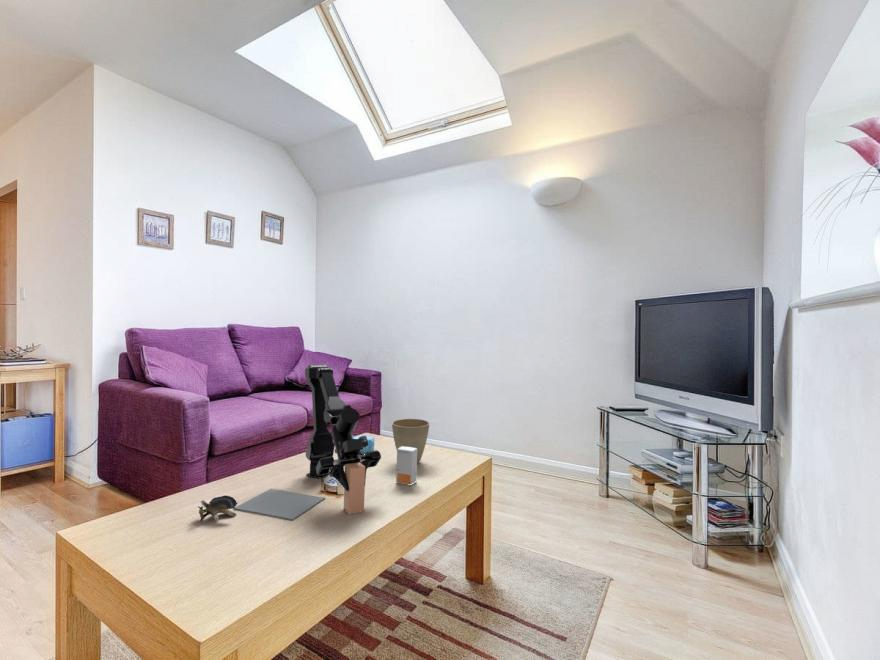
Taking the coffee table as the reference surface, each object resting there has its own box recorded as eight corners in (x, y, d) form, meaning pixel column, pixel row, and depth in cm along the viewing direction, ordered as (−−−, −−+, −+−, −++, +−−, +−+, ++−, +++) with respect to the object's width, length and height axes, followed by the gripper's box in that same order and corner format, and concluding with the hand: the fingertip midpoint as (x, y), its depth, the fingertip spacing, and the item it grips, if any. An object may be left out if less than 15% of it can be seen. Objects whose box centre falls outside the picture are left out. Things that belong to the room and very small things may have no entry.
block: (343, 508, 127) (344, 464, 127) (358, 505, 129) (359, 462, 129) (349, 514, 123) (350, 468, 123) (364, 511, 125) (365, 466, 125)
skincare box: (395, 483, 148) (396, 448, 148) (401, 479, 152) (402, 445, 152) (411, 486, 146) (412, 451, 146) (416, 482, 150) (417, 447, 150)
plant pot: (393, 456, 179) (394, 418, 179) (429, 457, 179) (430, 419, 178) (388, 468, 164) (389, 426, 164) (427, 469, 164) (428, 427, 164)
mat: (270, 489, 140) (270, 488, 140) (325, 498, 134) (325, 497, 134) (233, 509, 124) (233, 507, 124) (292, 520, 118) (292, 519, 118)
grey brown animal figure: (202, 525, 112) (239, 511, 117) (196, 498, 114) (233, 485, 119) (202, 530, 117) (237, 517, 122) (196, 505, 120) (231, 492, 125)
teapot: (345, 452, 183) (345, 434, 183) (353, 448, 189) (354, 431, 189) (368, 456, 178) (369, 438, 178) (377, 453, 183) (377, 435, 183)
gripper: (319, 430, 124) (331, 480, 115) (379, 424, 134) (394, 470, 125) (311, 450, 131) (321, 500, 122) (368, 443, 141) (382, 488, 132)
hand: (356, 488), depth 125 cm, fingers closed on block, 4 cm apart
